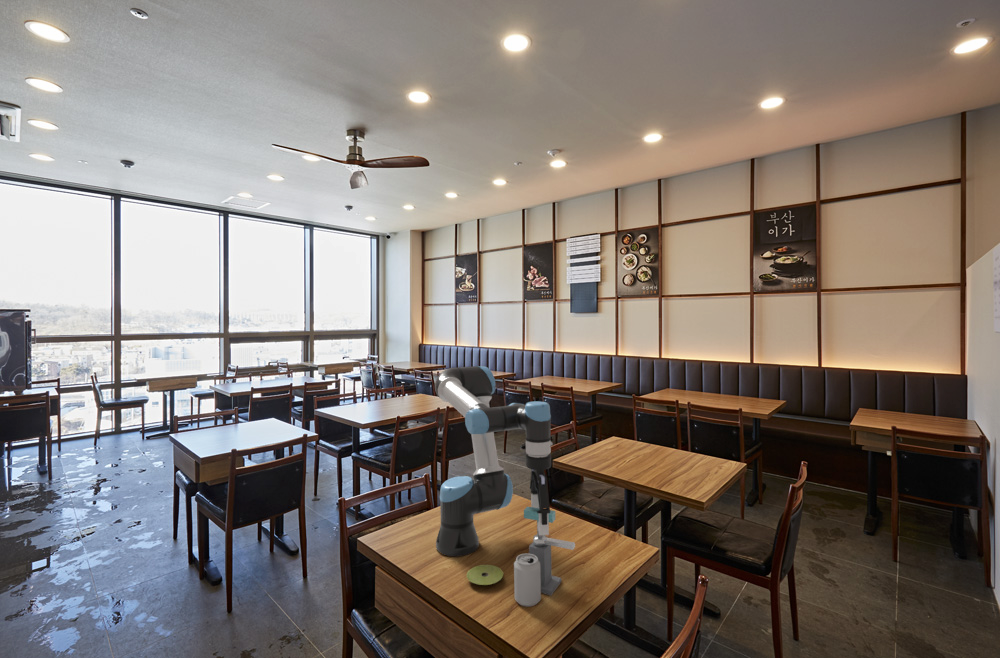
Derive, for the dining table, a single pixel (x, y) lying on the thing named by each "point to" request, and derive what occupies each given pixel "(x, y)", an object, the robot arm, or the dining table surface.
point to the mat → (484, 574)
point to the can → (527, 580)
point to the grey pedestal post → (545, 568)
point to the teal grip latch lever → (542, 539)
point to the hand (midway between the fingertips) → (539, 524)
